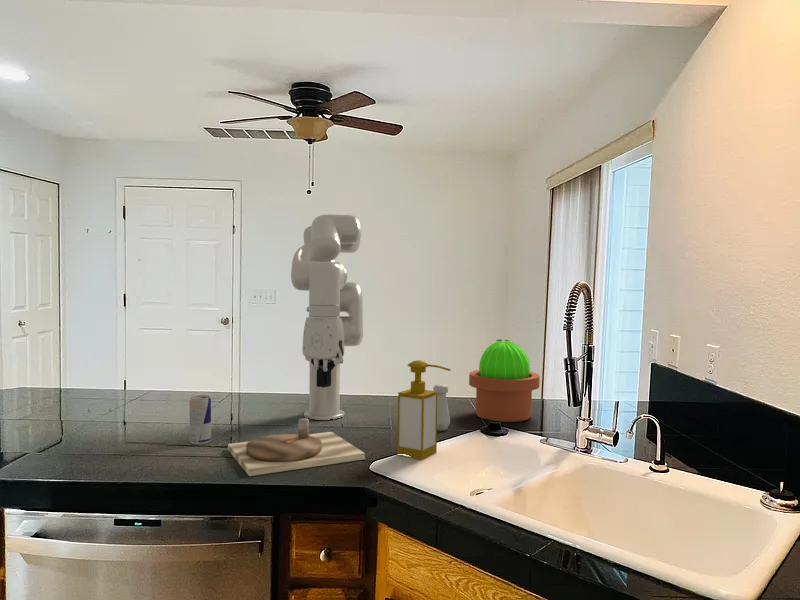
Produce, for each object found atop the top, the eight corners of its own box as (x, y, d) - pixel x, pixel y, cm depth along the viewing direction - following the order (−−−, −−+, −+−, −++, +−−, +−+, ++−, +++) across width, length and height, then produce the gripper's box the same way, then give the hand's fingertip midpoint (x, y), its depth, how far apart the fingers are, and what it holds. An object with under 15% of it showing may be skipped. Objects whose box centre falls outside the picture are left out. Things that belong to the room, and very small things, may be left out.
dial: (286, 465, 133) (286, 439, 133) (230, 452, 143) (230, 427, 142) (336, 446, 148) (336, 423, 148) (282, 435, 158) (282, 413, 158)
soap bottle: (442, 464, 142) (443, 365, 141) (397, 455, 149) (398, 360, 148) (455, 456, 148) (457, 361, 147) (412, 448, 155) (413, 357, 154)
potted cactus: (525, 428, 177) (527, 344, 176) (458, 418, 188) (459, 339, 187) (546, 413, 196) (548, 337, 195) (484, 405, 207) (485, 333, 206)
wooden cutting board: (227, 449, 151) (227, 441, 151) (331, 437, 164) (331, 429, 164) (249, 476, 132) (249, 466, 131) (364, 459, 145) (364, 450, 145)
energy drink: (215, 440, 159) (215, 396, 159) (202, 446, 154) (202, 400, 154) (198, 438, 161) (198, 394, 160) (185, 443, 156) (185, 398, 155)
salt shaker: (448, 431, 171) (449, 386, 171) (428, 430, 172) (429, 385, 172) (451, 426, 177) (451, 383, 176) (431, 425, 178) (432, 382, 178)
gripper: (290, 311, 147) (290, 385, 148) (339, 314, 139) (338, 392, 140) (310, 310, 154) (310, 381, 155) (358, 312, 146) (357, 387, 147)
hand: (323, 386), depth 147 cm, fingers closed
